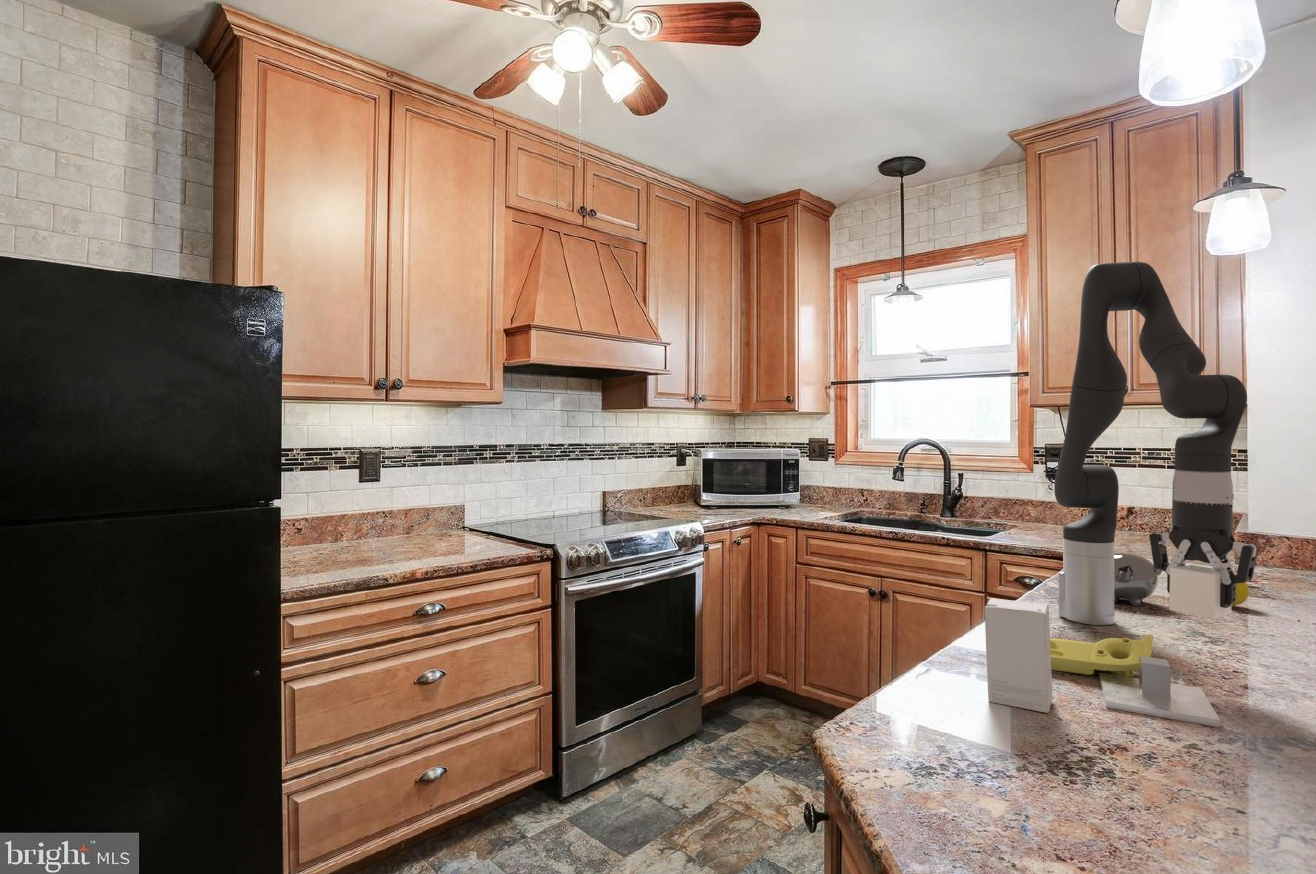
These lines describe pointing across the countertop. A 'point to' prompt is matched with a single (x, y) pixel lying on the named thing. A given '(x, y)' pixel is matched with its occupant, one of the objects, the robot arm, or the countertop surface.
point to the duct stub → (1157, 694)
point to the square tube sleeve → (1196, 591)
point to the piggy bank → (1134, 578)
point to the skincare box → (1018, 654)
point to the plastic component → (1099, 655)
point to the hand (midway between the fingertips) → (1200, 601)
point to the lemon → (1241, 593)
